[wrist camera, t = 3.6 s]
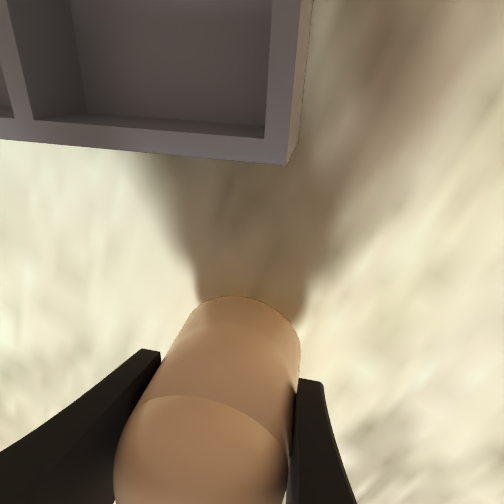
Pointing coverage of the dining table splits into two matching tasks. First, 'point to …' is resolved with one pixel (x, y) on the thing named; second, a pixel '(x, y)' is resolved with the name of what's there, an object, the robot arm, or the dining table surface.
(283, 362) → the egg
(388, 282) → the dining table surface
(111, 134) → the egg holder
